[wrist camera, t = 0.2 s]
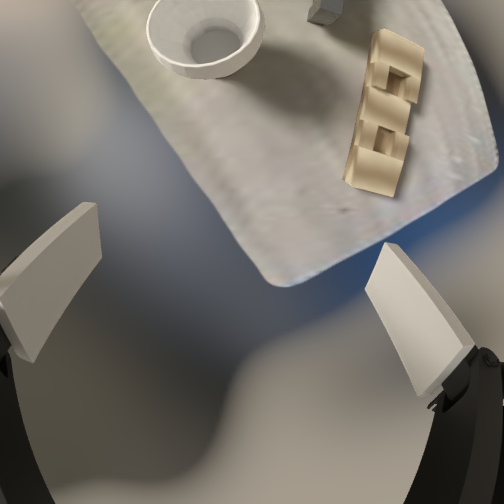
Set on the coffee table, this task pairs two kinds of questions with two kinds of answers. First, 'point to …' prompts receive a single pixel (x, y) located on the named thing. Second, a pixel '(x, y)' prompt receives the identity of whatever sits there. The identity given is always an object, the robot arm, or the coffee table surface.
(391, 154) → the rail
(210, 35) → the cup
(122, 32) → the coffee table surface
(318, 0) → the grey block
